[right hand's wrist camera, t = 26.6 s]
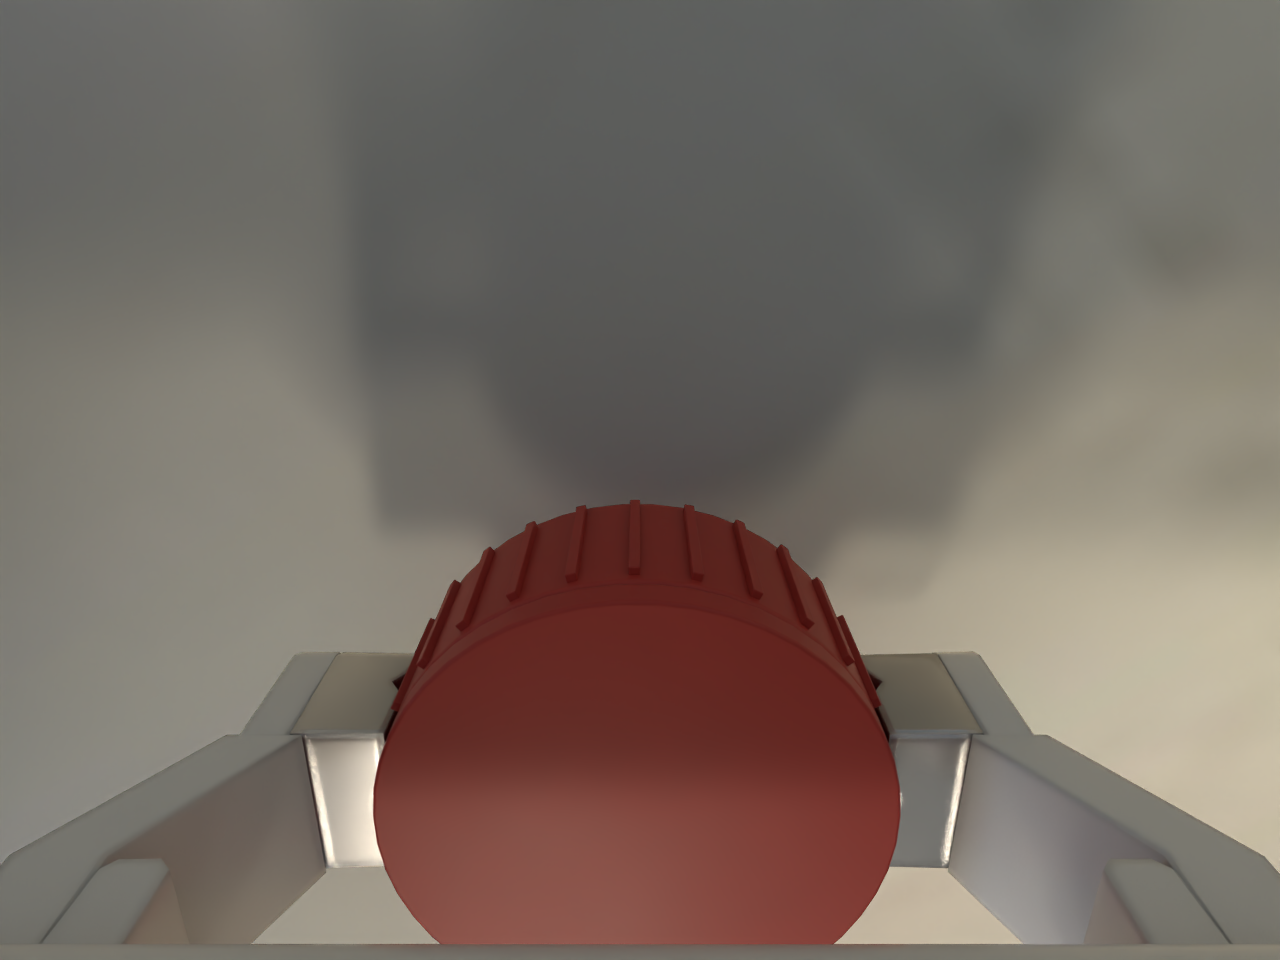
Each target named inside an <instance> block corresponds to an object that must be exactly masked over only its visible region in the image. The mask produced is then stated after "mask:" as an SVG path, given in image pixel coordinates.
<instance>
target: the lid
mask: <svg viewBox="0 0 1280 960" xmlns="http://www.w3.org/2000/svg"><path fill="white" fill-rule="evenodd" d="M881 705H882V704H881V702H880V699H879V697H878V695H877V692H876V690H875V688H874V685H873V683H872V681H871V679H870V676H869V674H868V672H867V669H866V667H865V665H864V662H863V660H862V658H861V655H860V653H859V651H858V648H857V646H856V644H855V642H854V639H853V637H852V635H851V632H850V630H849V628H848V625H847V623H846V621H845V619H844V616H843V615H841V616H839V617H836V615H835V612H834V610H833V607H832V605H831V603H830V600H829V598H828V595H827V593H826V591H825V588H824V586H823V583H822V582H821V581H820V579H819V578H818V577H816V578H815V579H813V580H812V579H811V578H810V577H809V576H808V574H806V573H805V572H804V571H803V570H802V569H801V568H800V567H799V566H798V565H797V564H796V563H795V562H794V561H793V560H792V559H791V556H790V554H789V551H788V549H787V548H786V547H784V546H783V545H780V546H779V547H778V548H776V547H775V546H774V545H772V544H771V543H770V542H768V541H767V540H765V539H763V538H762V537H760V536H758V535H756V534H754V533H752V532H750V531H749V530H747V529H746V527H745V524H744V523H743V522H741V521H739V520H736V521H735V522H734V523H731V522H729V521H726V520H723V519H721V518H718V517H716V516H713V515H709V514H705V513H701V512H697V511H695V510H694V506H691V505H686V504H685V505H684V508H679V507H671V506H662V505H654V504H640V500H630V504H620V505H612V506H604V507H595V508H590V509H587V508H586V506H585V505H583V506H579V507H576V512H573V513H569V514H565V515H562V516H559V517H556V518H554V519H551V520H548V521H546V522H543V523H541V524H538V525H537V524H536V523H535V521H533V522H531V523H529V524H527V525H526V528H525V531H524V532H522V533H520V534H518V535H517V536H515V537H513V538H511V539H509V540H508V541H506V542H505V543H504V544H502V545H501V546H499V547H498V548H497V549H495V550H493V549H492V548H491V547H489V548H487V549H486V550H485V551H484V552H483V554H482V557H481V560H480V562H479V563H478V564H477V565H476V566H475V567H474V568H473V569H472V570H471V571H470V572H469V573H468V574H467V575H466V576H465V578H464V579H463V580H462V581H461V583H459V582H458V581H456V580H454V581H453V582H452V584H451V585H450V587H449V589H448V591H447V594H446V596H445V598H444V601H443V603H442V605H441V608H440V610H439V612H438V615H437V617H436V619H435V620H434V619H432V618H430V620H429V622H428V624H427V627H426V629H425V631H424V633H423V636H422V638H421V640H420V642H419V645H418V647H417V649H416V652H415V654H414V656H413V658H412V661H411V663H410V665H409V667H408V670H407V672H406V674H405V676H404V679H403V681H402V683H401V686H400V688H399V690H398V692H397V695H396V697H395V699H394V701H393V704H392V706H391V709H392V710H394V711H397V712H398V713H397V715H396V718H395V720H394V722H393V725H392V727H391V729H390V732H389V734H388V737H387V739H386V742H385V745H384V747H383V750H382V753H381V755H380V758H379V761H378V766H377V772H376V777H375V782H374V787H373V819H374V826H375V833H376V839H377V845H378V848H379V851H380V854H381V857H382V860H383V864H384V867H385V870H386V872H387V874H388V876H389V878H390V880H391V882H392V884H393V886H394V888H395V890H396V892H397V894H398V895H399V897H400V898H401V899H402V901H403V902H404V904H405V905H406V907H407V908H408V909H409V911H410V912H411V914H412V915H413V917H414V918H415V919H416V920H417V921H418V922H419V923H420V924H421V925H422V926H423V927H424V928H425V930H426V931H427V932H428V933H429V934H430V935H431V936H432V937H433V938H434V939H435V940H437V941H438V942H439V943H440V944H834V943H835V942H836V941H837V940H839V939H840V938H841V937H842V936H843V935H844V934H845V933H846V932H847V931H848V929H849V928H850V927H851V926H852V925H853V924H854V923H855V922H856V921H857V920H858V919H859V917H860V916H861V915H862V913H863V912H864V911H865V909H866V908H867V906H868V905H869V903H870V902H871V901H872V899H873V898H874V896H875V895H876V893H877V891H878V889H879V887H880V885H881V883H882V881H883V879H884V877H885V875H886V873H887V871H888V869H889V866H890V863H891V860H892V856H893V853H894V850H895V847H896V844H897V837H898V831H899V824H900V817H901V801H900V784H899V779H898V774H897V769H896V763H895V759H894V757H893V754H892V751H891V749H890V746H889V743H888V741H887V738H886V735H885V733H884V730H883V728H882V726H881V723H880V721H879V718H878V716H877V714H876V711H875V709H874V708H877V707H879V706H881Z"/></svg>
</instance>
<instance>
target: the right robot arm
mask: <svg viewBox="0 0 1280 960" xmlns="http://www.w3.org/2000/svg"><path fill="white" fill-rule="evenodd" d="M413 656H414V654H409V653H360V652H343V653H340V652H302V653H299V654H296V655H294V656H293V657H292V659H291V660H290V662H289V663H288V665H287V666H286V668H285V669H284V671H283V672H282V673H281V675H280V676H279V678H278V679H277V681H276V682H275V684H274V685H273V687H272V688H271V690H270V691H269V692H268V694H267V695H266V697H265V698H264V700H263V701H262V703H261V704H260V706H259V707H258V709H257V710H256V711H255V713H254V714H253V716H252V717H251V719H250V720H249V722H248V723H247V725H246V726H245V728H244V729H243V730H242V732H241V733H240V735H226V736H224V737H222V738H220V739H218V740H217V741H215V742H213V743H211V744H209V745H207V746H206V747H204V748H202V749H200V750H198V751H197V752H195V753H193V754H191V755H189V756H188V757H186V758H184V759H182V760H180V761H179V762H177V763H175V764H173V765H171V766H170V767H168V768H166V769H164V770H162V771H161V772H159V773H157V774H155V775H153V776H151V777H150V778H148V779H146V780H144V781H142V782H141V783H139V784H137V785H135V786H133V787H132V788H130V789H128V790H126V791H124V792H123V793H121V794H119V795H117V796H115V797H114V798H112V799H110V800H108V801H106V802H105V803H103V804H101V805H99V806H97V807H95V808H94V809H92V810H90V811H88V812H86V813H85V814H83V815H81V816H79V817H77V818H76V819H74V820H72V821H70V822H68V823H67V824H65V825H63V826H61V827H59V828H58V829H56V830H54V831H52V832H50V833H49V834H47V835H45V836H43V837H41V838H39V839H38V840H36V841H34V842H32V843H30V844H29V845H27V846H25V847H23V848H21V849H20V850H18V851H16V852H14V853H12V854H11V855H9V856H8V857H7V859H6V860H5V861H4V862H3V863H2V864H1V865H0V960H1280V874H1279V873H1278V871H1277V870H1276V869H1275V868H1274V867H1273V866H1272V865H1271V863H1270V862H1269V861H1268V860H1267V859H1266V858H1265V857H1264V856H1263V855H1261V854H1259V853H1257V852H1256V851H1254V850H1252V849H1250V848H1248V847H1247V846H1245V845H1243V844H1241V843H1239V842H1238V841H1236V840H1234V839H1232V838H1230V837H1229V836H1227V835H1225V834H1223V833H1222V832H1220V831H1218V830H1216V829H1214V828H1213V827H1211V826H1209V825H1207V824H1205V823H1204V822H1202V821H1200V820H1198V819H1197V818H1195V817H1193V816H1191V815H1189V814H1188V813H1186V812H1184V811H1182V810H1180V809H1179V808H1177V807H1175V806H1173V805H1171V804H1170V803H1168V802H1166V801H1164V800H1163V799H1161V798H1159V797H1157V796H1155V795H1154V794H1152V793H1150V792H1148V791H1146V790H1145V789H1143V788H1141V787H1139V786H1138V785H1136V784H1134V783H1132V782H1130V781H1129V780H1127V779H1125V778H1123V777H1121V776H1120V775H1118V774H1116V773H1114V772H1112V771H1111V770H1109V769H1107V768H1105V767H1104V766H1102V765H1100V764H1098V763H1096V762H1095V761H1093V760H1091V759H1089V758H1087V757H1086V756H1084V755H1082V754H1080V753H1078V752H1077V751H1075V750H1073V749H1071V748H1070V747H1068V746H1066V745H1064V744H1062V743H1061V742H1059V741H1057V740H1055V739H1053V738H1052V737H1050V736H1048V735H1034V734H1033V732H1032V731H1031V729H1030V728H1029V727H1028V725H1027V724H1026V722H1025V721H1024V719H1023V718H1022V716H1021V715H1020V713H1019V712H1018V710H1017V709H1016V707H1015V706H1014V704H1013V703H1012V702H1011V700H1010V699H1009V697H1008V696H1007V694H1006V693H1005V691H1004V690H1003V688H1002V687H1001V685H1000V684H999V682H998V681H997V680H996V678H995V677H994V675H993V674H992V672H991V671H990V669H989V668H988V666H987V665H986V663H985V662H984V660H983V659H982V658H981V656H980V655H979V654H977V653H975V652H973V651H969V652H941V653H923V654H876V655H861V658H862V660H863V662H864V665H865V667H866V669H867V672H868V674H869V676H870V679H871V681H872V683H873V685H874V688H875V690H876V692H877V695H878V697H879V699H880V702H881V704H882V705H881V706H879V707H877V708H874V709H875V711H876V714H877V716H878V718H879V721H880V723H881V726H882V728H883V730H884V733H885V735H886V738H887V741H888V743H889V746H890V749H891V751H892V754H893V757H894V759H895V763H896V769H897V774H898V779H899V784H900V801H901V817H900V824H899V831H898V837H897V844H896V847H895V850H894V853H893V856H892V860H891V863H890V866H892V867H928V868H948V872H949V873H950V874H951V875H952V876H953V877H954V878H955V879H956V880H957V881H958V882H959V883H960V884H961V885H962V886H963V887H964V888H965V889H967V890H968V891H969V892H970V893H971V894H972V895H973V896H974V897H975V898H976V899H977V900H978V901H979V902H980V903H981V904H982V905H983V906H984V907H985V908H986V909H987V910H988V911H990V912H991V913H992V914H993V915H994V916H995V917H996V918H997V919H998V920H999V921H1000V922H1001V923H1002V924H1003V925H1004V926H1005V927H1006V928H1007V929H1008V930H1009V931H1010V932H1011V933H1013V934H1014V935H1015V936H1016V937H1017V938H1018V939H1019V940H1020V941H1021V942H1022V943H1023V944H251V943H252V942H253V941H254V940H255V939H256V938H257V937H258V936H259V935H260V934H261V933H263V932H264V931H265V930H266V929H267V928H268V927H269V926H270V925H271V924H272V923H273V922H274V921H275V920H276V919H277V918H278V917H279V916H280V915H282V914H283V913H284V912H285V911H286V910H287V909H288V908H289V907H290V906H291V905H292V904H293V903H294V902H295V901H296V900H297V899H298V898H299V897H301V896H302V895H303V894H304V893H305V892H306V891H307V890H308V889H309V888H310V887H311V886H312V885H313V884H314V883H315V882H316V881H317V880H318V879H320V878H321V877H322V876H323V875H324V874H325V873H326V868H346V867H381V866H384V864H383V860H382V857H381V854H380V851H379V848H378V845H377V839H376V833H375V826H374V819H373V787H374V782H375V777H376V772H377V766H378V761H379V758H380V755H381V753H382V750H383V747H384V745H385V742H386V739H387V737H388V734H389V732H390V729H391V727H392V725H393V722H394V720H395V718H396V715H397V713H398V712H397V711H394V710H392V709H391V706H392V704H393V701H394V699H395V697H396V695H397V692H398V690H399V688H400V686H401V683H402V681H403V679H404V676H405V674H406V672H407V670H408V667H409V665H410V663H411V661H412V658H413Z"/></svg>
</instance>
